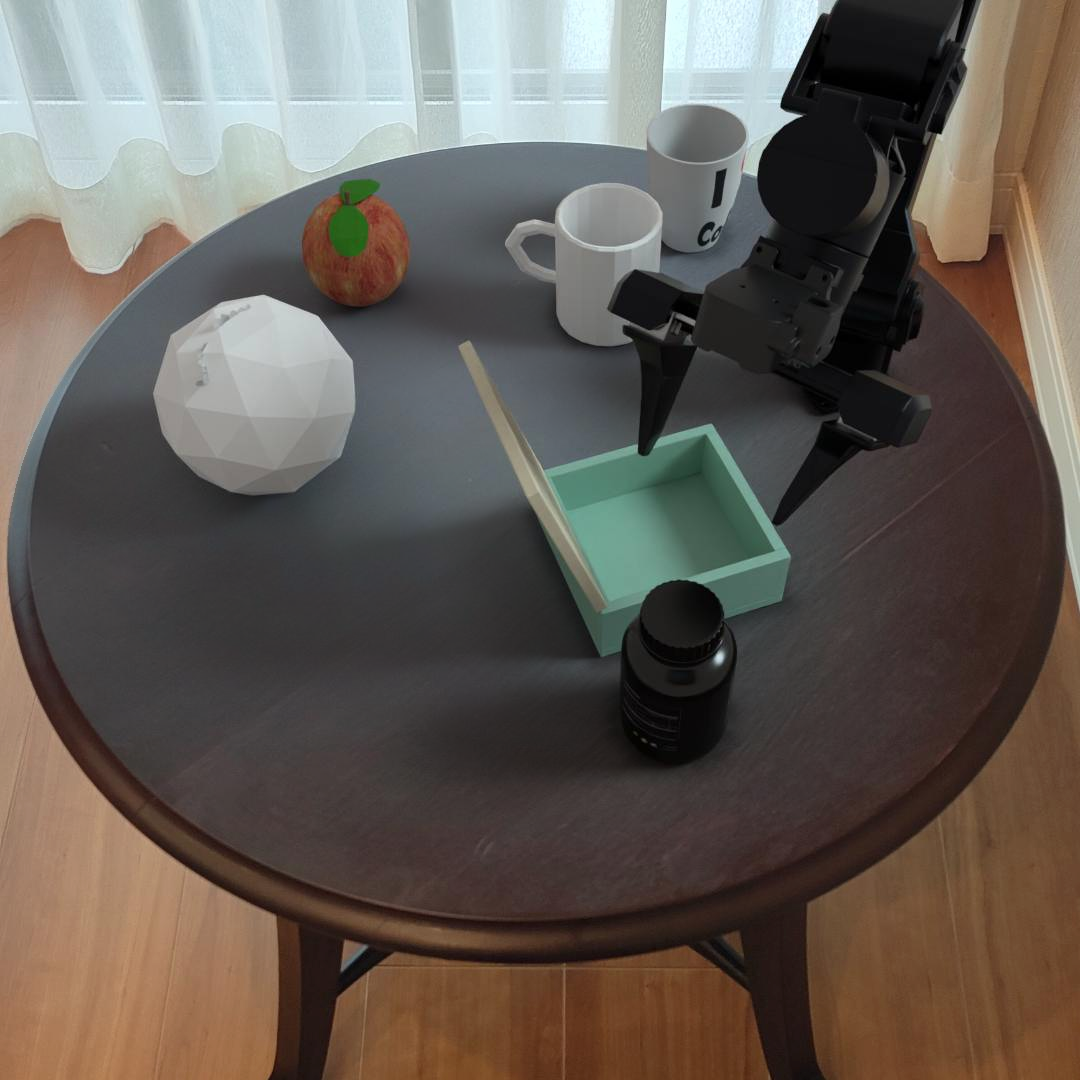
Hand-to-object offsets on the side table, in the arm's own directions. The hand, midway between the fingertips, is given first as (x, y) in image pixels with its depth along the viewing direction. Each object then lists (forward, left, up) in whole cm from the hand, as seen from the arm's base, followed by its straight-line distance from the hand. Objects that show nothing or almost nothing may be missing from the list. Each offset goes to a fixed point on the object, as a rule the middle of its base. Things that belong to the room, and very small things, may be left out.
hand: (708, 488), depth 78 cm
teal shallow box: (0, -5, -13) cm, 14 cm away
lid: (+9, -5, -1) cm, 10 cm away
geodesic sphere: (+23, -24, -13) cm, 36 cm away
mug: (-4, -31, -13) cm, 34 cm away
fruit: (+12, -40, -13) cm, 44 cm away
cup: (-16, -37, -13) cm, 42 cm away
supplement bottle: (+4, +7, -13) cm, 16 cm away
